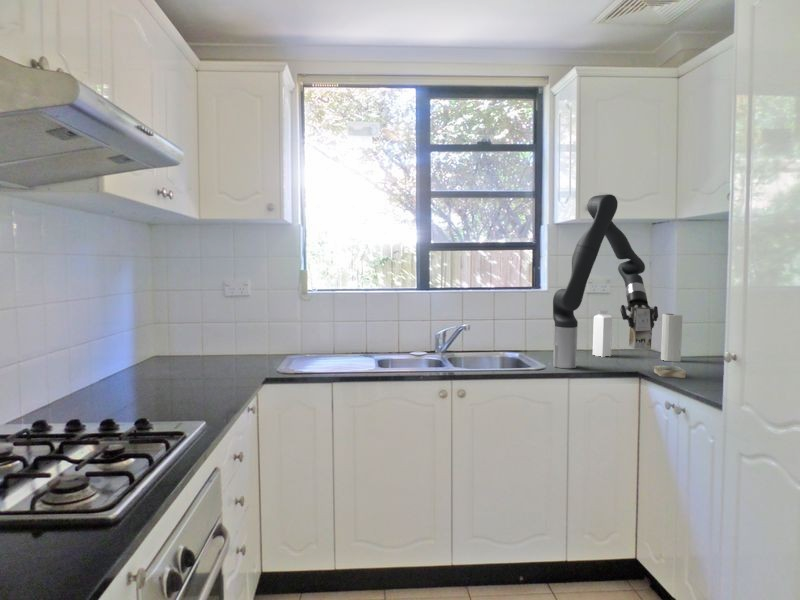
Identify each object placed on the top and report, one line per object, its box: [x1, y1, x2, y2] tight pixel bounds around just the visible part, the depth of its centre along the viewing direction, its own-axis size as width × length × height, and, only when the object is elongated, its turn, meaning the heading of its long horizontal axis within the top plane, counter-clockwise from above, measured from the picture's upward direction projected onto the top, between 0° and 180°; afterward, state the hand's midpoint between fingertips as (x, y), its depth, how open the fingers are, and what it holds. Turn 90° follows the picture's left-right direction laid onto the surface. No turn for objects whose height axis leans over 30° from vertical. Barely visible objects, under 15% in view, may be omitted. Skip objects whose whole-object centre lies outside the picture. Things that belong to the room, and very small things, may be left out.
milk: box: [592, 309, 613, 358], centre depth 243 cm, size 6×6×22 cm
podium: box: [653, 365, 687, 379], centre depth 202 cm, size 9×9×3 cm
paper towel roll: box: [660, 313, 683, 363], centre depth 232 cm, size 7×6×21 cm
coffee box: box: [628, 307, 653, 351], centre depth 203 cm, size 9×6×16 cm
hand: (642, 327), depth 202 cm, fingers closed on coffee box, 6 cm apart
